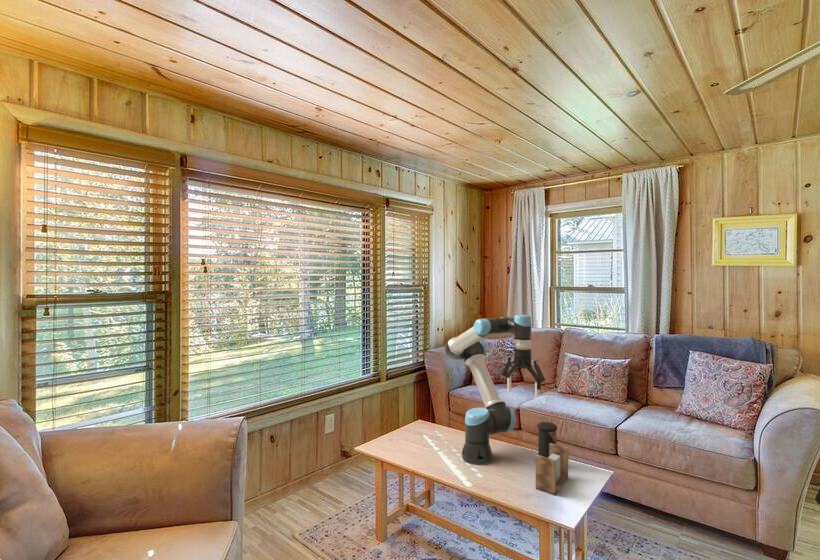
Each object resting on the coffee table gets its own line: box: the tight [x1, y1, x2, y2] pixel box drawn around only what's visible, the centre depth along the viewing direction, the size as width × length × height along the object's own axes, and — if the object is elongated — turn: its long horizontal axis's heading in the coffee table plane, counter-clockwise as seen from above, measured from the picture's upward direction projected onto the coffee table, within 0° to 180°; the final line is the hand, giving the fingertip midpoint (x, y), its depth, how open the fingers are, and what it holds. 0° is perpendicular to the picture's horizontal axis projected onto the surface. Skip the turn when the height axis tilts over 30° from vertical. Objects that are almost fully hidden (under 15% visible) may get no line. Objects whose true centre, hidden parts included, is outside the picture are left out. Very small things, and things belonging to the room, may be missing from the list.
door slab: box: [548, 454, 560, 483], centre depth 176 cm, size 4×10×10 cm, turn 141°
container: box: [537, 421, 558, 458], centre depth 192 cm, size 9×9×20 cm
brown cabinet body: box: [535, 443, 569, 496], centre depth 175 cm, size 8×17×14 cm, turn 141°
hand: (522, 393), depth 190 cm, fingers open, 13 cm apart
